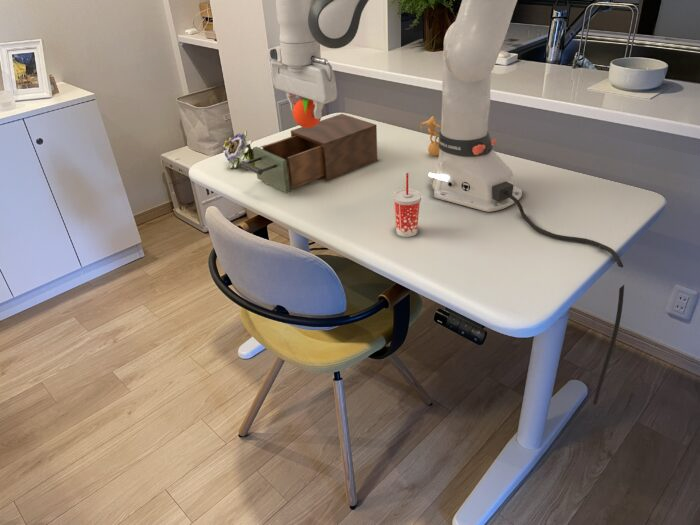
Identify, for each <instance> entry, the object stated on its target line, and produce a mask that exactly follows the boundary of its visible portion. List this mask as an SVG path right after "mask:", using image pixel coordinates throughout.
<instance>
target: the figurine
mask: <svg viewBox="0 0 700 525" xmlns="http://www.w3.org/2000/svg"><path fill="white" fill-rule="evenodd" d="M424 125H427V128H428V129H427V132H428V134H429V135H430V136H429V140H430V143H429V145H428V149H427V151H428V154H430V155H431V156H433V157H437V156H439V151H440V148H439V146H438V143H439V142H438V141H437V140H438V139H439V132H438V130H437V129H435V128H436V127H437V128H439V129H440V130H441V124H438V123H437V122H436V120H435V116H434V115H432V116H431V117H430V118H429V119H427V120H425V121H423V122H421V123H420V127H419V128H420V129H419V130H420V131H422V130H423V126H424ZM433 135H434V136H435V137H434V140H433Z"/></svg>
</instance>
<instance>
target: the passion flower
mask: <svg viewBox="0 0 700 525" xmlns="http://www.w3.org/2000/svg"><path fill="white" fill-rule="evenodd" d="M247 136H248V131H247V130H246V129H245V130H243V131H242V133H237V134H236V135H234V136H231V137H230V136H228V137H227V138H226V140H225V141H224V144H222V147H223V150H222V151H223V152H222V153H223V154H224V156H225V158H226V160H227V161H228V164H230V167H229V169H234V168H235V169H236V168H238V167H239V165H240V162H241V161H244V159H246V161H250V160H253V159H254V153H253V148H252V143H253V139H252V138H248V139H246V138H247ZM265 145H266V144H264V145H261V146H258V147H259V148H262V146H265ZM240 160H241V161H240ZM250 164H251V165H253V166H255V162H253V163H250ZM255 167H256V166H255Z"/></svg>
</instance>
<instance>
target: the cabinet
mask: <svg viewBox="0 0 700 525" xmlns="http://www.w3.org/2000/svg"><path fill="white" fill-rule="evenodd" d="M377 131H378V130H377V124H376V123H373V122H369V121H366V120H362V119H359V118H357V117H353V116H350V115H347V114H344V113H340V114H337V115H333V116H330V117H328V118H325V119H322V120H320V121H319V123H318V124H317V125H315V126H314V127H311V128H304V127H301V126H300V127H298V128H294V129H292V130H290V137H292V136H295V135H296V136H299V137H301V138H304V139H306V140H309V141H312V142H314V143H317V144H319V145H322V146H323V157H324V169H325V176H322V177H320V178H319V179H321V180H323V181H325V182H329V181H332V180H334V179H337V178H339V177H342V176H344V175H346V174H350V173H351V172H354V171H356V170H359V169H362V168H364V167H365V166H366V167H367V166H368V165H371V164H373V163H376V162H378V134H377V133H378V132H377Z"/></svg>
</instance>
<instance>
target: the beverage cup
mask: <svg viewBox="0 0 700 525" xmlns="http://www.w3.org/2000/svg"><path fill="white" fill-rule="evenodd" d="M405 174H406V175H405V176H406V177H405V188H404V189H399V190H396V191H394V193H392V200H393V202H394V215H395V216H394V217H395V229H396V234H397V235H398V236H400V237H405V238H411V237H413V236H416V235H417V234H418V226H419V217H420V216H419V215H420V214H419V213H420V204H421V201H422V193H421V192H420V191H419V190H416V189H410V188H409V173H408V172H406V173H405Z"/></svg>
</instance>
